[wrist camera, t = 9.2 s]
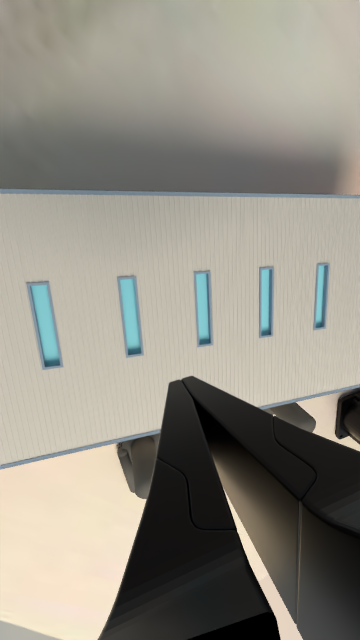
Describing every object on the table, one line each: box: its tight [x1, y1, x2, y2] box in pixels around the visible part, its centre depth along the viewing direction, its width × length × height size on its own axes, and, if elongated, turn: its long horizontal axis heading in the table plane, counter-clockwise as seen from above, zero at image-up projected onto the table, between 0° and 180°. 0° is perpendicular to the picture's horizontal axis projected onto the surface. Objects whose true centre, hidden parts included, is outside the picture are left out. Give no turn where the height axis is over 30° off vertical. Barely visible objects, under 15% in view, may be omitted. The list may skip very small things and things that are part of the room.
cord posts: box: [117, 402, 316, 499], centre depth 25 cm, size 8×24×5 cm, turn 99°
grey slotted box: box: [0, 189, 360, 469], centre depth 18 cm, size 30×14×8 cm, turn 92°
